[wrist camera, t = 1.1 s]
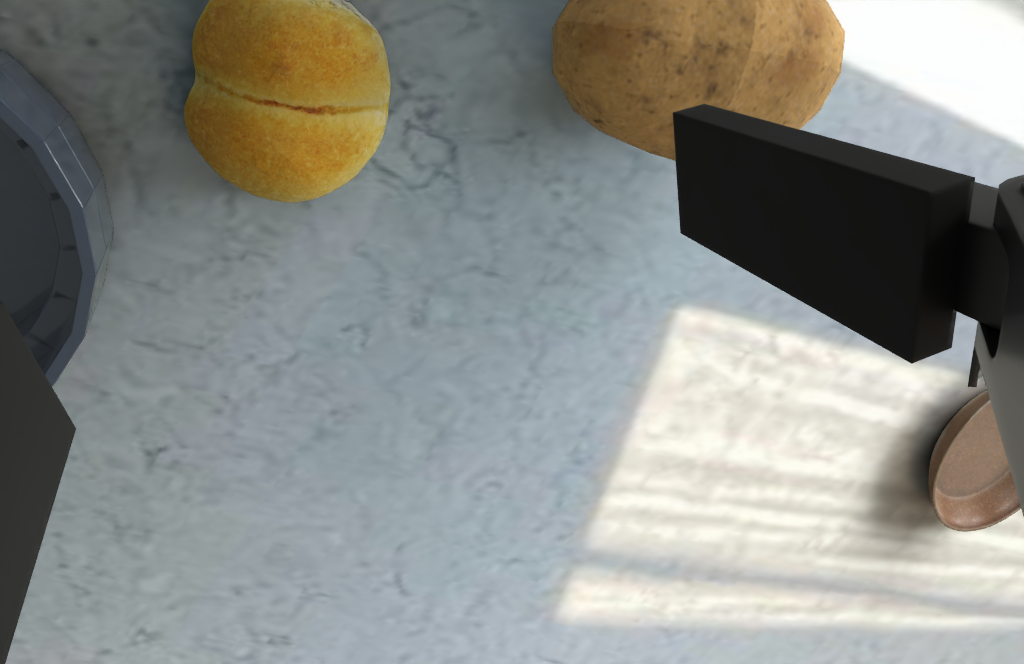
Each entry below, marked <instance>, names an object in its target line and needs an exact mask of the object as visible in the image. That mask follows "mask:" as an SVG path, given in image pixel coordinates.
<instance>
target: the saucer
mask: <svg viewBox="0 0 1024 664" xmlns="http://www.w3.org/2000/svg"><path fill="white" fill-rule="evenodd" d="M929 493H930V499H931V502H932V505H933V508H934V511H935V513H936V515H937V517H938V519H939V520H940V521H941V523H943V524H944V525H945V526H947V527H948V528H951V529H953V530H957V531H975V530H980V529H984V528H987V527H990V526H993V525H995V524H997V523H999V522H1001V521H1003V520H1004V519H1006V518H1008V517H1009V516H1011V515H1012V514H1014V513H1015V512H1017V511H1018V510H1020V509H1021V505H1020V502H1019V498H1018V495H1017V491H1016V488H1015V485H1014V481H1013V478H1012V474H1011V471H1010V467H1009V464H1008V460H1007V457H1006V453H1005V450H1004V446H1003V443H1002V439H1001V436H1000V432H999V429H998V425H997V422H996V419H995V415H994V412H993V408H992V405H991V401H990V398H989V394H988V391H987V390H986V391H984V392H983V393H981V394H979V395H978V396H976V397H975V398H973V399H972V400H971V401H969V402H968V403H967V404H966V405H964V406H963V407H962V408H961V409H960V410H959V411H958V412H957V413H956V414H955V416H954V417H953V418H952V419H951V420H950V421H949V423H948V424H947V425H946V427H945V428H944V430H943V431H942V433H941V435H940V437H939V438H938V440H937V443H936V445H935V447H934V450H933V453H932V456H931V460H930V466H929Z"/></svg>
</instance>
